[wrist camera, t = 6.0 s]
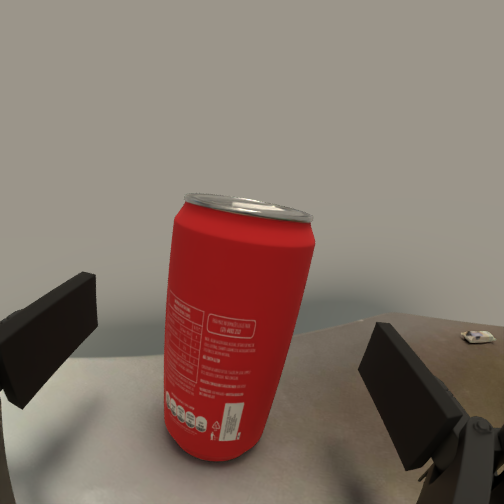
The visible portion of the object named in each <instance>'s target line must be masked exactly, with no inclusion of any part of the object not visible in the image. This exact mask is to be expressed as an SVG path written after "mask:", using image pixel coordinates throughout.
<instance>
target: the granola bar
mask: <svg viewBox="0 0 504 504" xmlns="http://www.w3.org/2000/svg"><path fill="white" fill-rule="evenodd" d="M461 334H463V335H464V336H465V339H467V340H468V341H469V342H470V343H479V342H491V341H494V340H496V339H495V338H494V337H493V335H491V334H490V333H489V332H487V331H467V332H466V333H461Z"/></svg>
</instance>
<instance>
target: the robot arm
mask: <svg viewBox="0 0 504 504" xmlns="http://www.w3.org/2000/svg"><path fill="white" fill-rule="evenodd" d="M97 326H98V321H97V305H96V275H95V274H90V273H87V272H81V273H79V274H78V275H76V276H74V277H73V278H71V279H70V280H68V281H66V282H65V283H63V284H61V285H60V286H58V287H57V288H55V289H53V290H52V291H50V292H49V293H47V294H46V295H44V296H43V297H41V298H39V299H38V300H37V301H35V302H33V303H32V304H30V305H29V306H27V307H26V308H24V309H21V310H18V311H15V312H14V313H12V314H11V315H9V316H8V317H7V318H6V319H3V320H2V321H0V391H1V390H2V389H3V390H4V392H5V394H6V397H7V399H8V401H9V402H11V403H12V404H14V405H16V406H17V407H19V408H20V409H22V410H23V409H24V407H25V406H26V405H27V404H28V403H29V401H30V400H31V399H32V398H33V397H34V396H35V394H36V393H37V392H38V391H39V390H40V389H41V387H42V386H43V385H44V384H45V383H46V382H47V381H48V379H49V378H50V377H51V376H52V375H53V374H54V373H55V372H56V370H57V369H58V368H59V367H60V366H61V365H62V364H63V363H64V362H65V361H66V359H67V358H68V357H69V356H70V355H71V354H72V353H73V352H74V351H75V350H76V349H77V348H78V346H79V345H80V344H81V343H82V342H83V341H84V340H85V339H86V338H87V337H88V336H89V335H90V334H91V333H92V332H93V331H94V330H95V329H96V328H97ZM358 371H359V373H360V375H361V377H362V379H363V381H364V383H365V385H366V387H367V389H368V391H369V393H370V395H371V397H372V399H373V401H374V403H375V405H376V407H377V410H378V412H379V414H380V416H381V418H382V420H383V422H384V424H385V426H386V429H387V431H388V433H389V435H390V437H391V439H392V442H393V444H394V446H395V448H396V450H397V453H398V455H399V457H400V459H401V461H402V464H403V466H404V468H405V471H409V470H413V469H417V468H421V467H422V466H423V465H424V464H425V463H426V462H427V461H428V460H429V459H430V457H431V458H432V460H433V462H434V463H433V464H432V465H431V466H430V468H429V469H428V470H427V471H426V472H425V473H424V474H423V475H422V476H421V477H420V478H419V480H418V481H419V482H420V481H421V480H422V479H423V478H424V477H426V479H425V482H424V485H423V488H422V490H421V493H420V496H419V498H418V501H417V503H416V504H504V471H503V472H502V473H501V474H500V475H498V474H497V470H498V469H499V468H500V467H501V466H502V465H503V464H504V425H503V426H502V427H501V428H493V427H492V425H491V424H490V423H489V422H488V421H487V420H486V419H484V418H482V417H477V416H475V417H471V418H470V417H469V415H468V414H467V413H466V411H465V410H464V409H463V407H462V406H461V405H460V403H459V402H458V401H457V400H456V398H455V397H453V394H452V393H451V392H450V391H448V390H449V389H448V388H447V387H446V386H445V384H444V383H443V382H442V381H441V380H439V379H438V378H437V377H435V376H434V375H433V374H432V373H431V372H430V371H429V369H428V368H427V367H426V366H425V364H424V363H423V362H422V361H421V360H420V358H419V357H418V356H417V355H416V354H415V352H414V351H413V350H412V349H411V348H410V346H409V345H408V344H407V343H406V342H405V340H404V339H403V338H402V337H401V336H400V335H399V333H398V332H397V331H396V330H395V329H394V328H393V326H392V325H391V324H390V323H381V322H376V325H375V328H374V330H373V333H372V336H371V338H370V341H369V343H368V346H367V349H366V351H365V353H364V356H363V358H362V361H361V363H360V365H359V368H358ZM0 504H16V502H15V498H14V495H13V490H12V486H11V482H10V477H9V472H8V466H7V460H6V454H5V447H4V438H3V428H2V412H1V399H0Z"/></svg>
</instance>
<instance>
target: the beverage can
mask: <svg viewBox="0 0 504 504" xmlns="http://www.w3.org/2000/svg"><path fill="white" fill-rule="evenodd" d="M184 200H185V204H184V206H183V207H182V208H181V210H180V211H179V213H178V214H177V215H176V217H175V219H174V226H173V235H172V244H171V253H170V264H169V277H168V289H167V303H166V322H165V347H164V419H165V424H166V427H167V429H168V431H169V433H170V434H171V436H172V437H173V438H174V439H175V441H176V443H177V444H178V445H179V447H180V448H181V449H182V450H184V451H185V452H186V453H188V454H189V455H191V456H193V457H195V458H197V459H200V460H204V461H209V462H224V461H229V460H232V459H235V458H237V457H239V456H241V455H242V454H244V453H245V452H246V451H247V450H249V449H250V448H252V447H253V446H254V445H255V444H256V443H257V442H258V441H259V439H260V438H261V435H262V433H263V430H264V427H265V424H266V421H267V418H268V415H269V412H270V409H271V406H272V403H273V400H274V396H275V393H276V390H277V387H278V384H279V380H280V377H281V374H282V370H283V367H284V364H285V360H286V357H287V353H288V350H289V346H290V343H291V339H292V335H293V332H294V328H295V324H296V320H297V317H298V313H299V309H300V305H301V301H302V297H303V293H304V289H305V285H306V281H307V277H308V273H309V268H310V264H311V259H312V256H313V251H314V247H315V239H314V235H313V232H312V228H311V222H312V221H313V216H312V215H310V214H308V213H306V212H303V211H299V210H296V209H292V208H288V207H285V206H280V205H276V204H271V203H266V202H261V201H255V200H250V199H244V198H238V197H230V196H223V195H213V194H200V193H199V194H198V193H191V194H186V195H185V196H184Z"/></svg>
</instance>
